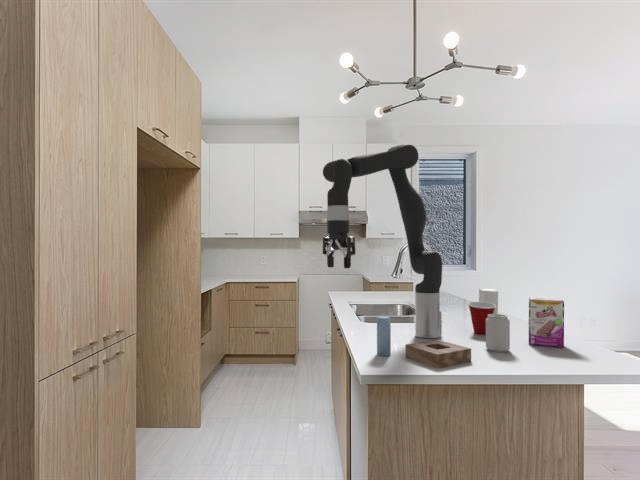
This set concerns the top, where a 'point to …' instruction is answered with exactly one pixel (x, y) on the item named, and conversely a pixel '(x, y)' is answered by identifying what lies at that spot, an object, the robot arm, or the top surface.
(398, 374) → the top surface
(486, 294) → the skincare box
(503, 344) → the can
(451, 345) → the socket block
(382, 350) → the peg
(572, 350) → the top surface
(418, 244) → the robot arm
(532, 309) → the candy bar box
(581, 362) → the top surface
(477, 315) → the plastic cup
